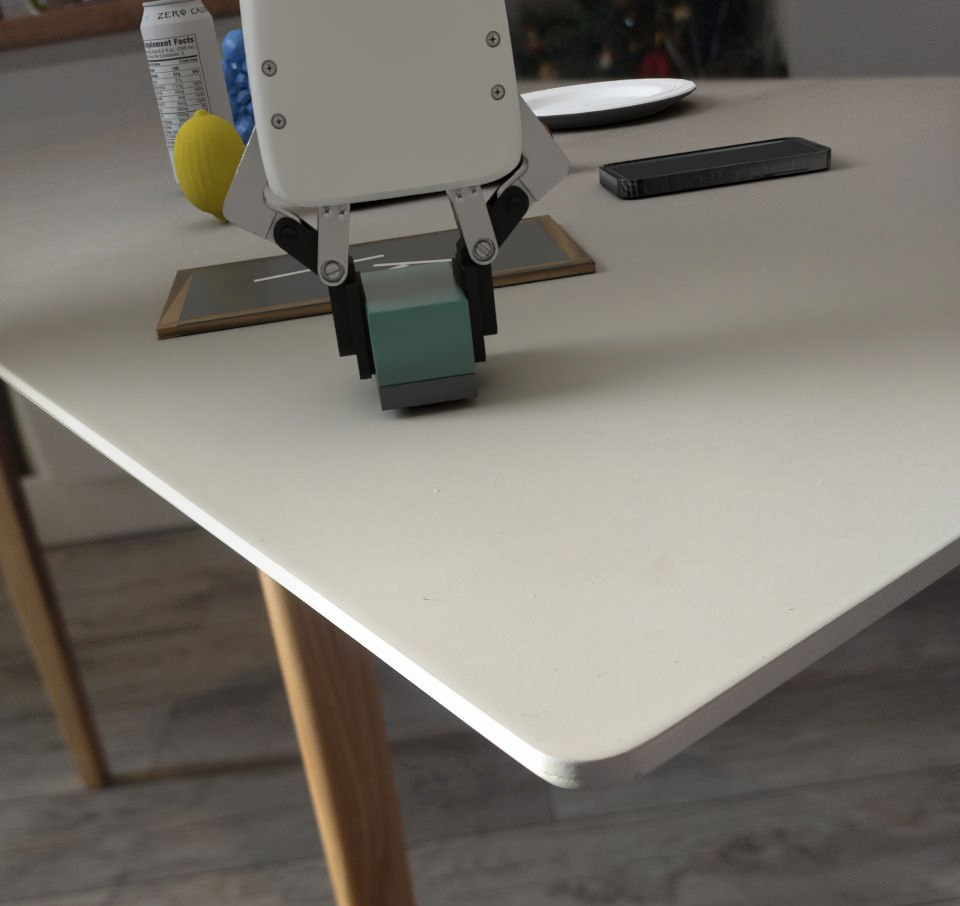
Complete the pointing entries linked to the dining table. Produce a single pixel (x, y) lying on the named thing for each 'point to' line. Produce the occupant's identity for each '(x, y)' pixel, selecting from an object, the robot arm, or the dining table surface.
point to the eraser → (419, 335)
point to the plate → (605, 101)
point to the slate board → (299, 292)
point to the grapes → (238, 83)
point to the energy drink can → (183, 64)
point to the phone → (713, 166)
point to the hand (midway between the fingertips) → (419, 357)
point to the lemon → (207, 160)
